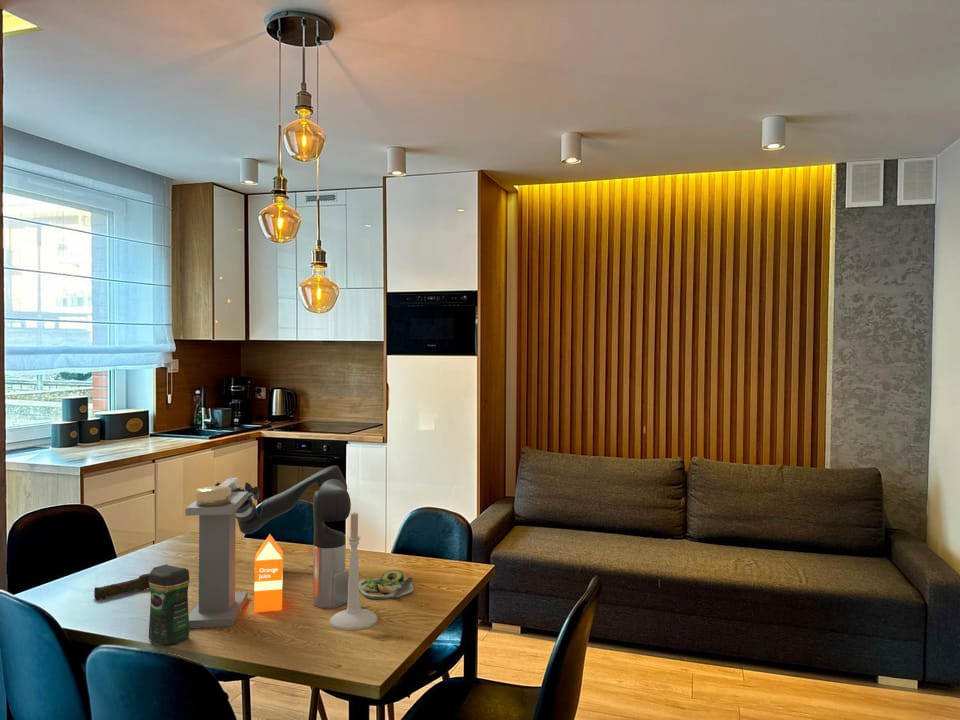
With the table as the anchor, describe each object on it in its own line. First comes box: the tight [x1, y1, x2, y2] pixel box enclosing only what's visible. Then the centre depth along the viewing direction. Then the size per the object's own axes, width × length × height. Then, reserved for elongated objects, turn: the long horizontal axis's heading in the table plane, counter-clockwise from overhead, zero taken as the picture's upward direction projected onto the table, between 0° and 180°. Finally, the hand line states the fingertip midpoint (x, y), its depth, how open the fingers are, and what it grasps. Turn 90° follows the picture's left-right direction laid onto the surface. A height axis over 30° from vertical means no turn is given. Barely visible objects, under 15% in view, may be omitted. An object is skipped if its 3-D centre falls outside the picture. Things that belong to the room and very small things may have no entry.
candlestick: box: [329, 511, 378, 631], centre depth 188 cm, size 13×13×30 cm
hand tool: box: [93, 572, 150, 601], centre depth 210 cm, size 19×4×5 cm, turn 136°
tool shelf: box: [185, 492, 249, 629], centre depth 194 cm, size 22×12×32 cm, turn 8°
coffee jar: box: [148, 564, 191, 646], centre depth 175 cm, size 10×8×19 cm
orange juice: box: [253, 533, 284, 613], centre depth 200 cm, size 8×9×20 cm
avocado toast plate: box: [359, 569, 415, 600], centre depth 213 cm, size 19×18×5 cm
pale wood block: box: [195, 477, 240, 507], centre depth 199 cm, size 30×9×4 cm, turn 8°
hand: (231, 485), depth 214 cm, fingers open, 8 cm apart
